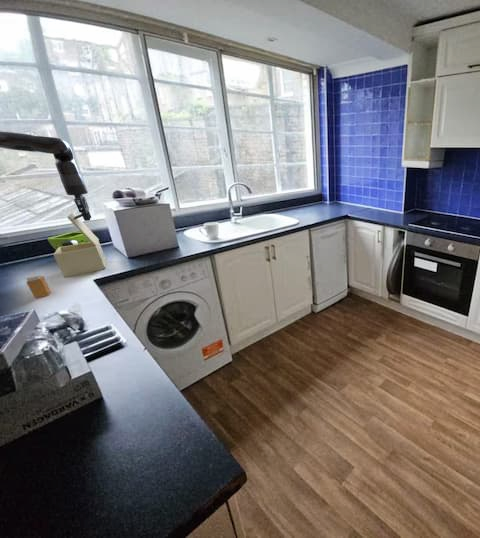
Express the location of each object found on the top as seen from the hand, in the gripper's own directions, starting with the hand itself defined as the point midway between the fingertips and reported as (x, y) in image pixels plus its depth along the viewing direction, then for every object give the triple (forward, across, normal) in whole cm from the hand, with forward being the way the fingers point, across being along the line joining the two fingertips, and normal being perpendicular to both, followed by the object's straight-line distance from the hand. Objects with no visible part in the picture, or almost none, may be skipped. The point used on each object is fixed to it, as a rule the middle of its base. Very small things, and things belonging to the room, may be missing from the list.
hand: (88, 219), depth 145 cm
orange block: (+24, +26, -20) cm, 41 cm away
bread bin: (+24, 0, -8) cm, 26 cm away
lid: (+5, 0, -3) cm, 6 cm away
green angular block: (+25, -30, -14) cm, 41 cm away
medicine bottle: (+25, -16, -13) cm, 32 cm away
